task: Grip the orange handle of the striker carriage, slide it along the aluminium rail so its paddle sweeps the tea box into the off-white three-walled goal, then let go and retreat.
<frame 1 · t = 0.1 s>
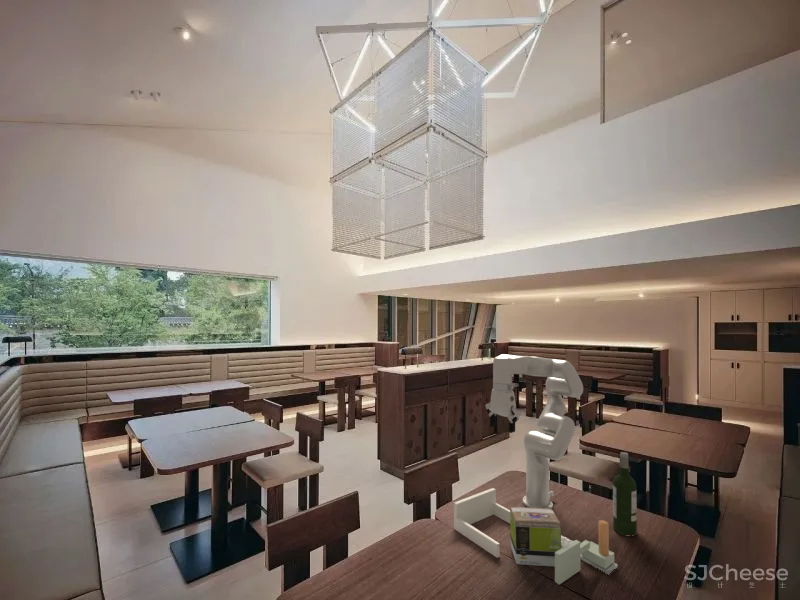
hand: (502, 429, 156), 37 cm above the table, tool pointing down, fingers open, 9 cm apart
tea box: (534, 557, 132), on the table
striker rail: (557, 541, 141), on the table
goal: (496, 533, 146), on the table
striker: (583, 549, 124), point 7 cm above the table, slide at 0.0 cm
wine bottle: (624, 531, 148), on the table
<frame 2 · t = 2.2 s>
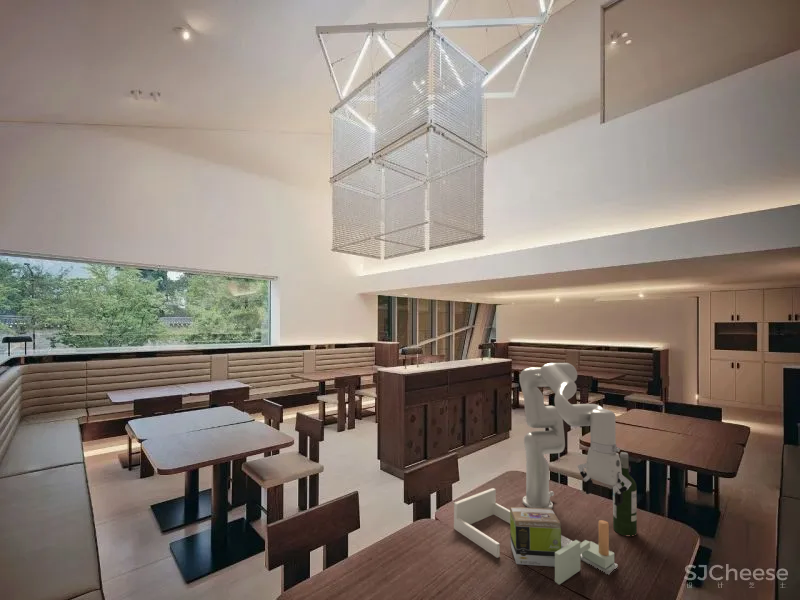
hand: (603, 498, 128), 22 cm above the table, tool pointing down, fingers open, 9 cm apart
nothing on the table moved.
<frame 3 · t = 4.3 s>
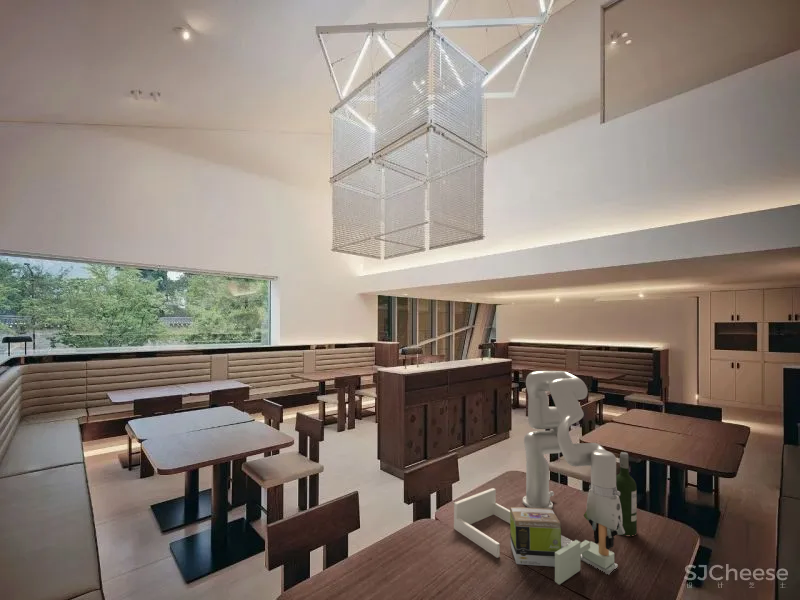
hand: (603, 544, 128), 7 cm above the table, tool pointing down, fingers closed on striker, 3 cm apart
striker: (583, 549, 124), point 7 cm above the table, slide at 0.0 cm, touching gripper
everything else where it was.
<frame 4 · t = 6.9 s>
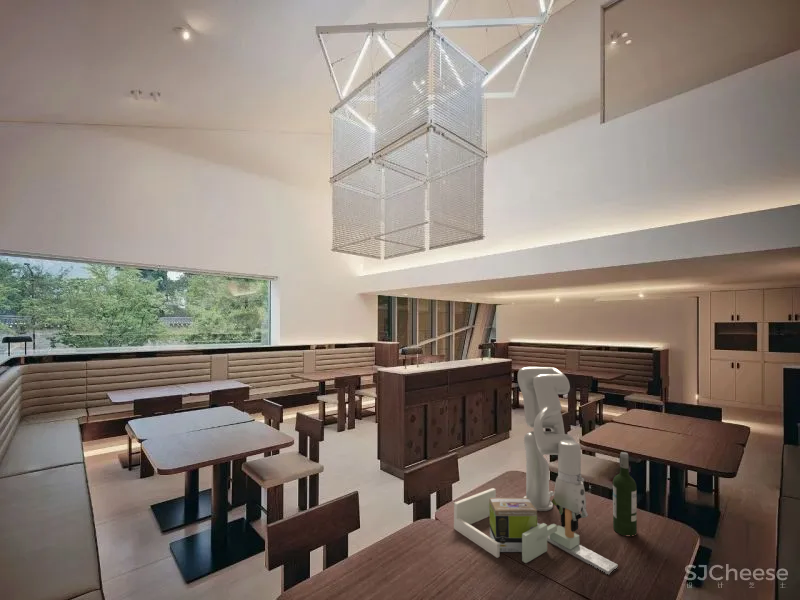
hand: (569, 527, 138), 7 cm above the table, tool pointing down, fingers closed on striker, 3 cm apart
tea box: (512, 545, 139), on the table, touching striker
striker: (549, 532, 134), point 7 cm above the table, slide at 12.2 cm, touching gripper, tea box
everything else where it was.
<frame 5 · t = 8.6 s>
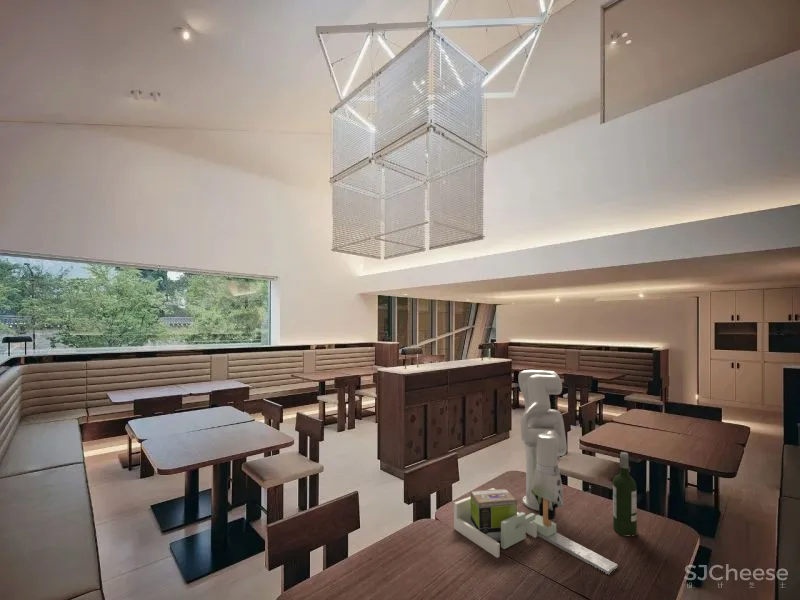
hand: (547, 516, 145), 7 cm above the table, tool pointing down, fingers closed on striker, 3 cm apart
tea box: (493, 534, 145), on the table, touching striker
striker: (527, 520, 141), point 7 cm above the table, slide at 21.3 cm, touching gripper, tea box
everything else where it was.
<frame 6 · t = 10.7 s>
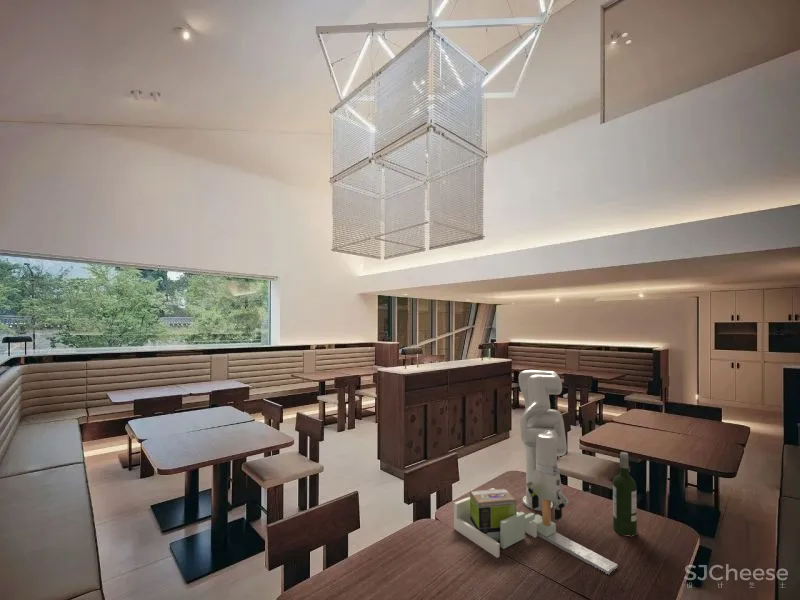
hand: (546, 513, 145), 8 cm above the table, tool pointing down, fingers open, 9 cm apart
tea box: (492, 534, 145), on the table
striker: (527, 520, 142), point 7 cm above the table, slide at 21.5 cm
everything else where it was.
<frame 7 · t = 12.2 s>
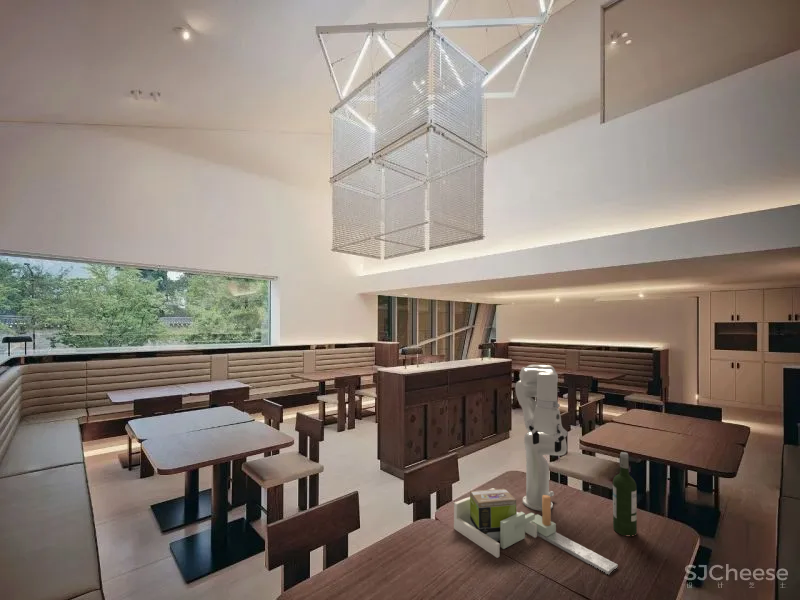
hand: (546, 447, 150), 31 cm above the table, tool pointing down, fingers open, 9 cm apart
nothing on the table moved.
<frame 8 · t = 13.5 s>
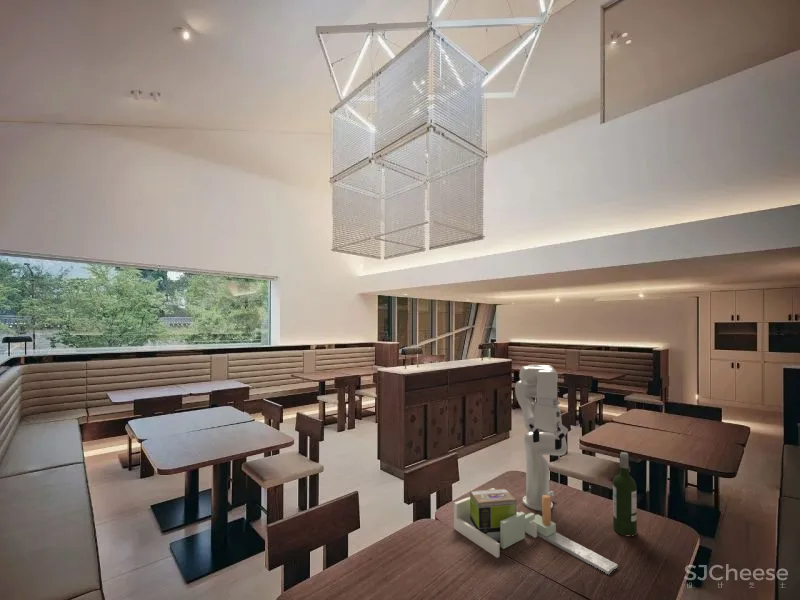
hand: (546, 445, 150), 32 cm above the table, tool pointing down, fingers open, 9 cm apart
nothing on the table moved.
at the end: tea box inside the target area (2.7 cm from its centre), on the table; tea box tilted 0°; striker slide at 21.5 cm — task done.
